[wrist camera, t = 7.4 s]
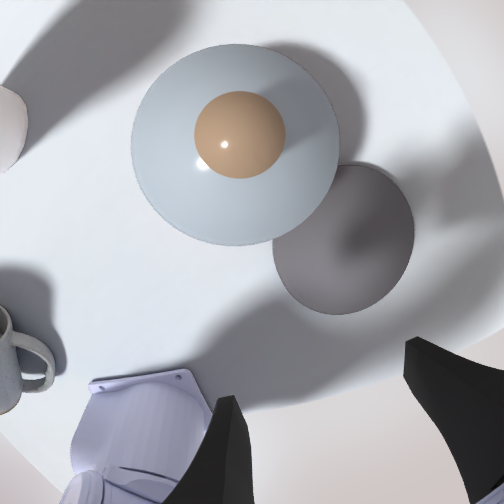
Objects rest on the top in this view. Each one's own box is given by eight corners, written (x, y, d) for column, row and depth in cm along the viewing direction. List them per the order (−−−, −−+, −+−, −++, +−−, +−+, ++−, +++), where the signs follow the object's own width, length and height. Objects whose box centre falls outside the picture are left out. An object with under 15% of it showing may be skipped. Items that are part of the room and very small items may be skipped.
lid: (173, 266, 15) (155, 304, 11) (115, 88, 12) (77, 65, 8) (353, 209, 15) (395, 228, 11) (301, 34, 12) (327, -5, 8)
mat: (289, 327, 21) (291, 331, 20) (255, 184, 17) (256, 185, 17) (412, 286, 21) (416, 290, 20) (399, 154, 18) (404, 154, 17)
